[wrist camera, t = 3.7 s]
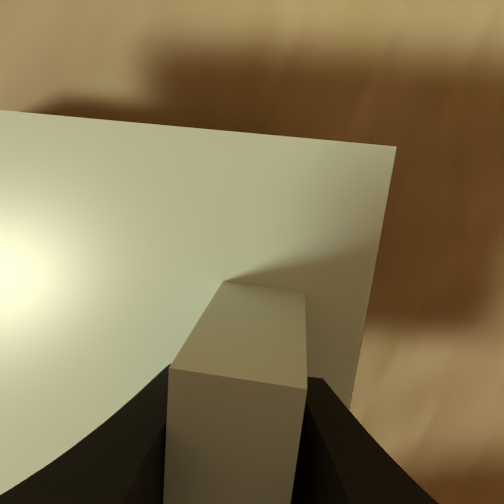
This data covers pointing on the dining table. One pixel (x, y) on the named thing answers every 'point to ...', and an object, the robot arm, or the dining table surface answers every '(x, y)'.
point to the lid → (180, 290)
